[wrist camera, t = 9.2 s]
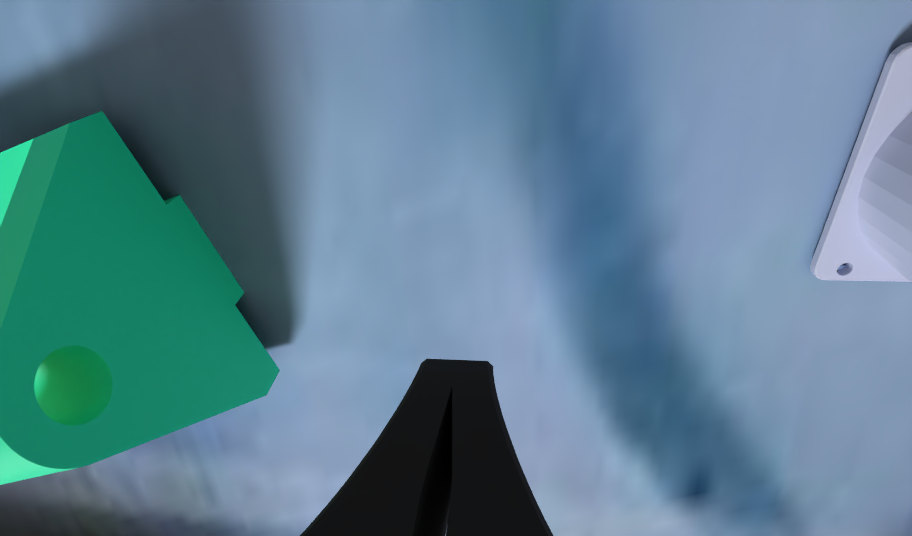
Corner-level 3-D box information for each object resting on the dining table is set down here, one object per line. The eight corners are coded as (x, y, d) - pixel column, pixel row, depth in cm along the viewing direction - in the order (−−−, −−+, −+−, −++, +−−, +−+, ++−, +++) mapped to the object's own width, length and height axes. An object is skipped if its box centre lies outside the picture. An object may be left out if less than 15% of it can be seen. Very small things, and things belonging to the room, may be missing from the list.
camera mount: (-31, 168, 20) (-444, 330, 11) (122, 102, 18) (-229, 234, 10) (156, 387, 26) (-25, 611, 17) (288, 354, 24) (163, 585, 15)
